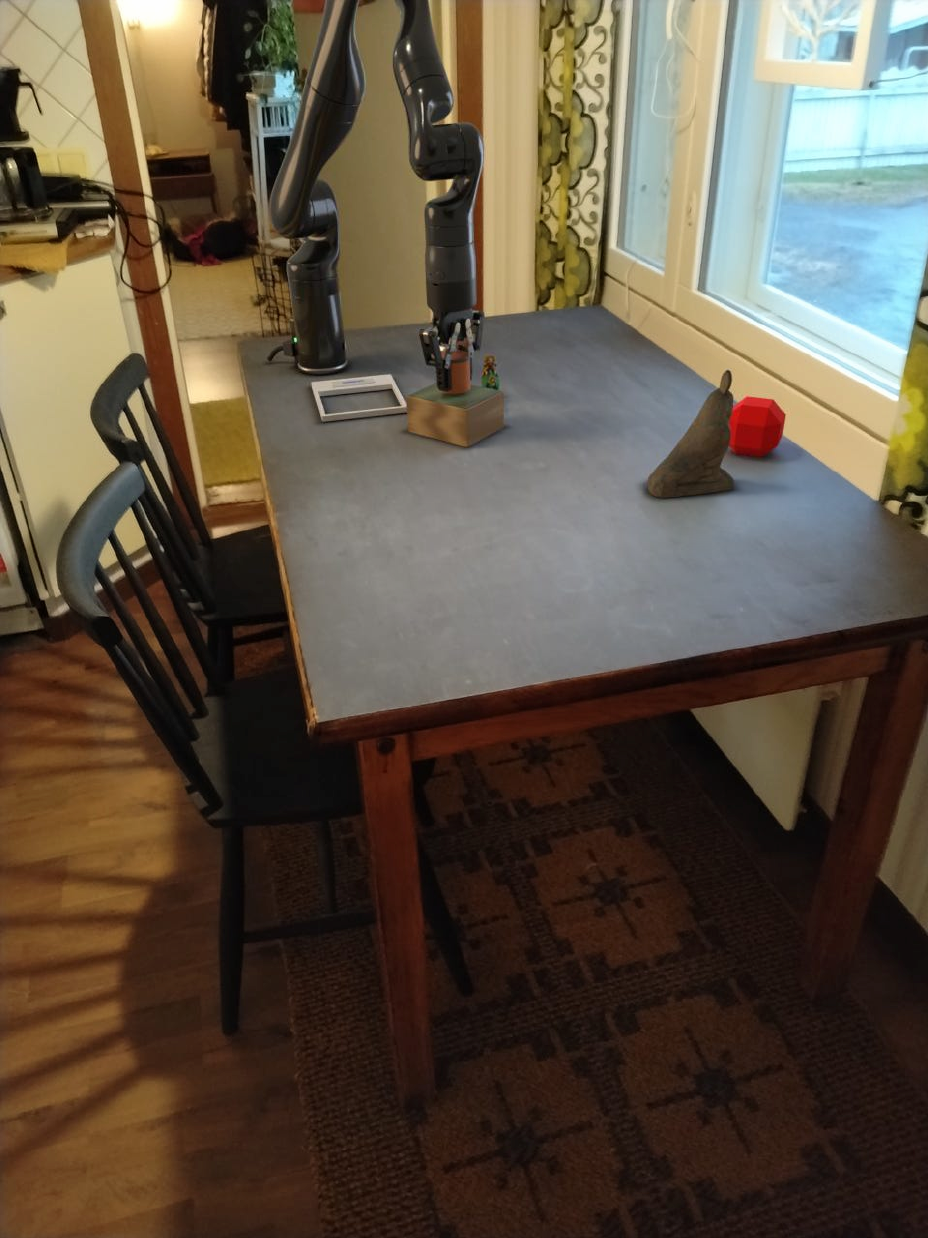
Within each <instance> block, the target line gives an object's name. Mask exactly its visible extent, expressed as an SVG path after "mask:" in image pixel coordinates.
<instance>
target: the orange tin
mask: <svg viewBox="0 0 928 1238" xmlns="http://www.w3.org/2000/svg"><path fill="white" fill-rule="evenodd" d="M444 355H445V353H444V352H442V353H441V356H442V360H444ZM449 368H451V390H450V391H448V392H445V391H442V392H445V393H450V394H458V393H464V392H467V391H469V390H470V384H471V381H470V354H469V353H468V352H465V351H460V350H457V349H455V352H454V353H453V354H452V356H451V362H450V367H449Z"/></svg>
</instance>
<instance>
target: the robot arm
mask: <svg viewBox="0 0 928 1238" xmlns="http://www.w3.org/2000/svg"><path fill="white" fill-rule="evenodd" d="M393 2H394V3H395V5H396V6H395V7H396V8H397V10H398V12H399V16H400V24H399V28H398V32H397V35H396V38H395V41H394V46H393V50H392V57H391V58H392V59H391V61H392V71H393V76H394V80H395V83H396V85H397V89H398V92H399V94H400V97H401V100H402V104H403V107H404V111H405V118H406V123H407V124H406V126H407V136H408V137H407V139H408V141H407V142H408V143H407V145H408V146H407V147H408V149H407V151H408V154H407V155H408V162H409V165H410V168H411V170H412V172H413V173H414V174H415V175H416V177H418V179H420V180H421V181H424V182H438V181H439V182H440V181H447V180H452V181H451V185H450V187H449V189H448V191H447V192H445V193H444V194H441V195H440V196H437V197H435V198H432V199H430V200H428V201H427V202H426V204H425V206H424V211H423V213H424V217H423V218H424V234H425V251H424V252H425V253H424V268H425V271H424V272H425V290H426V292H425V293H426V305H427V307H428V308H429V309H430V310H431V312H432V318H431V322H430V323H431V325H430V326H429V327H427V328H426V329H425V328H421V329H420V330H419V331H418V335H419V341H420V345H421V349H422V353H423V358H424V362H425V365H426V366H427V367H428V366H429V367H434V368H435V378H436V382H437V387H438V389H439V390H440V391H445V392H448V391H450V390H451V368H449V367H450V362H451V356H452V354H453V353H454V352H455V350H460V351H465V352H468V353H469V354H470V382H471V381H472V379H473V358H474V357H475V353H476V351H480V350H481V348H482V340H483V331H484V323H485V311H482V310H475V309H473V308H475V307H476V305H477V302H478V299H477V297H478V296H477V262H476V260H477V258H476V250H475V243H474V208H475V204H476V198H477V193H478V188H479V182H480V179H481V174H482V171H483V165H484V161H485V144H484V139H483V136H482V134H481V132H480V131H479V129H478V128H477V126H476V125H474V124H473V123H471V122H467V121H466V122H452V123H451V122H450V123H440V122H442V121H444V120H445V119H446V118H447V117H449V115H451V113H452V111H453V108H454V106H455V97H454V92H453V89H452V86H451V83H450V80H449V78H448V75H447V71H446V69H445V66H444V63H443V60H442V57H441V55H440V51H439V47H438V45H437V41H436V36H435V32H434V26H433V21H432V14H431V13H432V12H431V8H430V1H429V0H393ZM359 3H360V0H325V2H324V7H323V13H322V17H321V22H320V25H319V29H318V34H317V38H316V42H315V46H314V49H313V54H312V57H311V60H310V63H309V68H308V70H307V74H306V77H305V82H304V86H303V90H302V93H301V97H300V103H299V107H298V110H297V115H296V119H295V122H294V126H293V129H292V133H291V135H290V140H289V143H288V146H287V149H286V152H285V155H284V158H283V161H282V163H281V165H280V168H279V171H278V174H277V176H276V178H275V181H274V184H273V187H272V190H271V193H270V196H269V197H270V198H269V205H268V213H269V219H270V223H271V225H272V228H273V230H274V232H275V233H276V234H277V235H278V236H280V237H281V238H283V239H287V240H298V239H300V240H301V239H302V241H301V244H300V247H299V248H298V249H297V251H296V252H295V253H294V254H292V255H291V256H290V257H289V258H288V260H287V261H286V273H287V279H288V289H289V296H290V304H291V312H292V316H290V317H289V326H290V327H289V328H290V334H291V335H290V336H291V338H290V339H288V340H285V341H283V342H282V345H280V346H277V347H275V348H274V349H273V350H272V351H270V352H269V354H268V356H267V357H266V360H267V361H268V362H271V361H273V359H274V358H275V356H276V355H277V354H278V353H280V352H283V355H284V356H287V357H291V358H293V361H294V366H295V368H296V369H298V371H300V372H301V373H304V374H307V375H317V376H318V375H321V376H322V375H329V374H335V373H339V372H342V371H344V370H345V369H347V368H348V366H349V365H348V358H347V340H346V339H345V328H344V319H343V316H344V315H343V309H342V308H343V307H342V298H341V297H342V296H341V289H340V288H341V287H340V278H339V277H340V275H339V261H340V257H341V239H340V219H339V218H340V216H339V208H338V201H337V197H336V195H335V193H334V190H333V187H331V185H330V184H329V183H328V182H327V181H326V180H325V179H323V178H321V177H319V176H320V174H321V173H322V171H323V169H324V168H325V166H326V165H327V163H328V162H329V161H330V160H331V159H332V157H333V156H334V155H335V154H336V152H337V151H338V150H339V149H340V148H341V147H342V145H343V144H344V143H345V141H346V140H347V139H348V137H349V136H350V134H351V133H352V131H353V129H354V128H355V125H356V122H357V120H358V116H359V114H360V110H361V108H362V104H363V100H364V97H365V94H366V89H367V77H366V70H365V66H364V62H363V58H362V55H361V51H360V48H359V44H358V39H357V35H356V18H357V12H358V6H359ZM438 123H440V124H438ZM473 334H474V335H473ZM442 344H443V345H442ZM444 345H447V346H444ZM442 352H444V353H445V355H444V360H442V356H441V353H442Z"/></svg>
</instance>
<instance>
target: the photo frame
mask: <svg viewBox="0 0 928 1238" xmlns="http://www.w3.org/2000/svg"><path fill="white" fill-rule="evenodd" d="M311 389H312V393H313V395H314V400H315V403H316V405H317V409H318V412H319V415H320V419H321V422H332V421H341V420H348V419H349V420H350V419H359V418H369V417H376V416H377V417H379V416H386V415H387V416H388V415H395V414H402V413H403V414H404V413H407V404H406V399H405V398H404V397H403V394H402V393H401V391H400V389H399V387H398V385H397V383H396V382H395V379H394V378H393V376H392V374H390V373H389V374H379V375H370V376H361V377H360V376H359V377H351V378H341V379H331V380H321V381H312V382H311ZM383 390H392V391H393V393H394V394H395V397H396V399H397V401H398V402H399V405H400V406H391V407H390V406H389V407H382V408H373V409H372V408H371V409H363V410H354V411H344V412H337V413H327V414H326V412H325V409H324V406H323V403H322V400H321V397H327V396H336V395H337V396H338V395H345V394H356V393H365V392H374V391H383Z"/></svg>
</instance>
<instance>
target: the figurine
mask: <svg viewBox="0 0 928 1238" xmlns="http://www.w3.org/2000/svg"><path fill="white" fill-rule="evenodd" d="M491 359H492V361H491ZM483 361H484V363H482V365H483V369H482V374H481V380H480V381H481V382H480V384H481V387H485V388H490V389H495V390H499V391H500V379H499V375H498V373H497V369H496V368H497V366H498V363H497V362H496V357H495V356H494V355H492V354H488V355H487V354H486V355H485V356H484V360H483Z"/></svg>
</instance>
